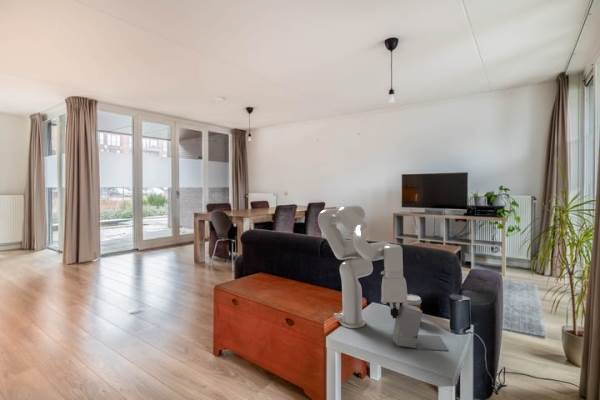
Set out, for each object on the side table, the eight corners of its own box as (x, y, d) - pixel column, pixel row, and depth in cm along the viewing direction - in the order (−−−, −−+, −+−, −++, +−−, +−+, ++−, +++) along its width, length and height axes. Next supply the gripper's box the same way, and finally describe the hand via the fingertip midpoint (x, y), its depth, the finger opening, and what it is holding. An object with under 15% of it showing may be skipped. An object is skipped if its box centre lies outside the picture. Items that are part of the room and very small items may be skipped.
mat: (417, 349, 124) (417, 348, 124) (411, 335, 136) (411, 334, 136) (448, 351, 123) (448, 350, 122) (439, 336, 134) (439, 335, 134)
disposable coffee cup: (418, 317, 155) (418, 294, 154) (424, 325, 145) (424, 301, 145) (399, 316, 156) (399, 293, 155) (403, 325, 146) (403, 300, 146)
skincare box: (396, 345, 125) (403, 308, 124) (391, 337, 132) (397, 301, 131) (416, 349, 125) (423, 311, 124) (410, 340, 132) (416, 305, 131)
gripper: (376, 276, 125) (377, 320, 126) (414, 277, 123) (414, 321, 123) (374, 271, 132) (375, 313, 133) (410, 272, 130) (411, 314, 130)
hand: (394, 317), depth 128 cm, fingers closed
